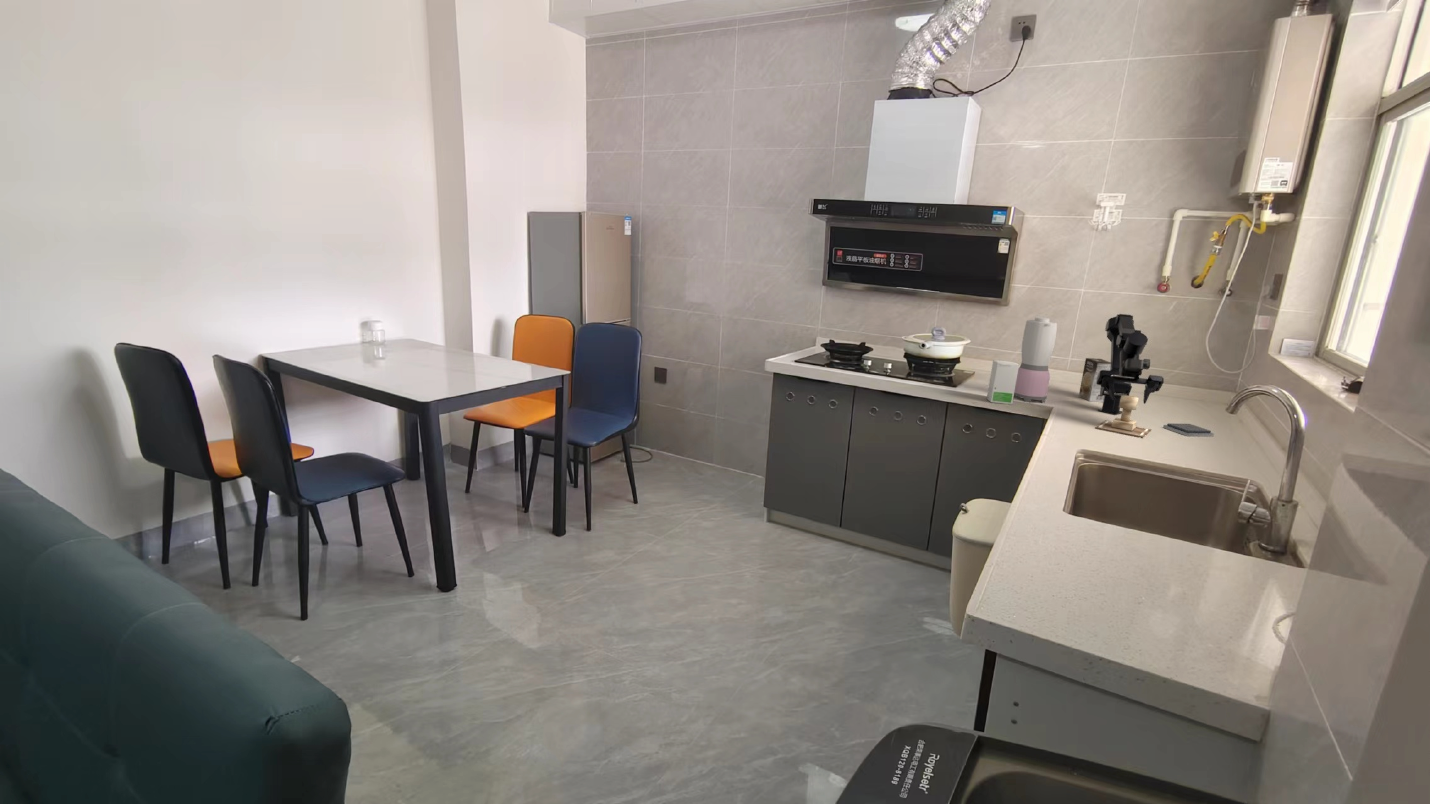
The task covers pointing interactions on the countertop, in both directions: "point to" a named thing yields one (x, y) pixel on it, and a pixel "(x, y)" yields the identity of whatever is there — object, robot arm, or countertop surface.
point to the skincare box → (1002, 382)
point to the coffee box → (1092, 379)
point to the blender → (1035, 359)
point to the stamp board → (1136, 432)
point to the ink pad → (1188, 430)
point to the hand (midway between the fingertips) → (1129, 401)
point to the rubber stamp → (1126, 414)
